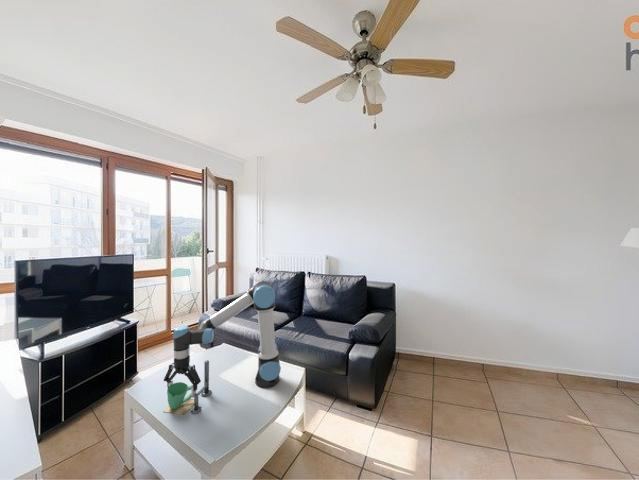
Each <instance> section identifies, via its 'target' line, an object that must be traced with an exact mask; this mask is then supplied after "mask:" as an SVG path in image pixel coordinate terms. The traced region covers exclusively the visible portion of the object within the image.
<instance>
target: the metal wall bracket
mask: <svg viewBox="0 0 639 480" xmlns="http://www.w3.org/2000/svg"><path fill="white" fill-rule="evenodd" d="M203 373H204V374H203V375H204V376H203V377H204V381H203V382H204V383H203V385H204V386H202V388H200V390H199V391H197V392H196V394H195V395H194V397H193V399H194V405H193V407H191V408H190V414H192V415H197V414H199V413H201V411H202V407H201V406H199V395H200V396H201V397H202V398H203V397H204V398H205V397H206V398H207V397H209V396H211V395H212V393H213V392H212V390H211V389H210V387H209V386H210V360H205V361H204V372H203Z"/></svg>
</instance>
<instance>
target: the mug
mask: <svg viewBox="0 0 639 480" xmlns="http://www.w3.org/2000/svg"><path fill="white" fill-rule="evenodd" d="M188 391H192V385H189V386H188V384H187V383H185V382H180V381H178V382H175V383H174V382H173V384H172V385H170V386H169V387H167V392H166V394H167V403H168V407H170V408H171V409H176V408H178V407H179V406H180V405H181V404H182V403H184V402H186V401H188V400H189V399H190V398H191V399H192V392H190V394H189V395H188V396H187V397H186V395H187V393H188ZM184 398H185V399H184Z"/></svg>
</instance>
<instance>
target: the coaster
mask: <svg viewBox="0 0 639 480" xmlns="http://www.w3.org/2000/svg"><path fill="white" fill-rule="evenodd" d="M185 398H186V397H184V399H185ZM193 407H194V398H192V397H191V398H190V399H189V400H188V401H186V402H184V403H182V404H181V405H180V406H179V407H178V408H176V409H171V408H170V407H169V406H168V407H166V408H165V409H164V410H163V411H164V412H163V413H167V412H168V413H167V414H175V415H181V416H185V415H186V413H188V412H189V411H191V409H192V408H193Z"/></svg>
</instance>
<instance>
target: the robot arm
mask: <svg viewBox="0 0 639 480" xmlns="http://www.w3.org/2000/svg"><path fill="white" fill-rule="evenodd" d="M275 300H276V292H275V290H274V288H273V286H272V285H271V283H270V282H269V281H268V282H267V281H259V282H256V284H254V285H253V286H252V287H250V288H249V289H247V291H246V293H244V294H242V295H241V296H240V297H238V298H237V299H235V300H234V301H232V302H231V303H230V304H228V305H227V306H225V307H223V308H222V309H221V310H219V311H217V312H216V313H214V314H212V315H211V316H210V317H209V318H207V319H203V320H202V321H201V322H200V323H199V325H198V327H197V328H196V329H190V326H188V325H181V326H177V327H175V329H173V337H172V338H173V362H172V363H171V364H169V365H168V370H167V372H166V374H165V376H164V378H163V382H166V383H167V384H166V385H167V386H166V387H167V388H168V387H169V386H170V385H172V384H174V380H173V379H174V378H175V377H176V375H177V374H178V375H184V377H185V376H186V378H187V379H188V380H189V381H190V383H191V386H192V389H191V393H192V397H191V399H194V395H195V394H197V390H198V385H199V384H200V383H201V382H202V381H201V377H200V376H199V374H198V371H197V370H196V365H195V364H193V365H190V362H191V359H190V358H191V356H190V354H191V353H190V352H191V351H190V349H191V348H190V347H191V346H190V345H202V344H204V345H206V344H211V343H212V342H213V341H214V336H215V335H214V334H215V333H214V331H215V330H216V329H217V328H219V327H221V326H222V325H223V324H226V322H228V321H230V320H231V319H232V318H234V317H235V316H237V315H238V314H240V313H241V312H243V311H244V310H245V309H247V308H249V307H250V306H251V305H253V307H254V310H255V311H256V312H257V321H258V335H259V347H258V354H257V355H258V357H257V358H258V365H257V366H258V369H257V373H256V375H255V379H254V380H255V381H254V383H255V385H256V386H258V387H259V388H264V389H266V388H268V389H269V388H272V387H274V386H276V385H278V384H279V383H280V380H281V379H280V377H281V375H280V373H281V369H282V368H281V367H282V366H281V364H280V353H279V350H278V345H277V344H276V335H275V324H274V322H275V321H274V309H275V308H276V301H275ZM173 370H174V371H173ZM172 372H173V373H172Z"/></svg>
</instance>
